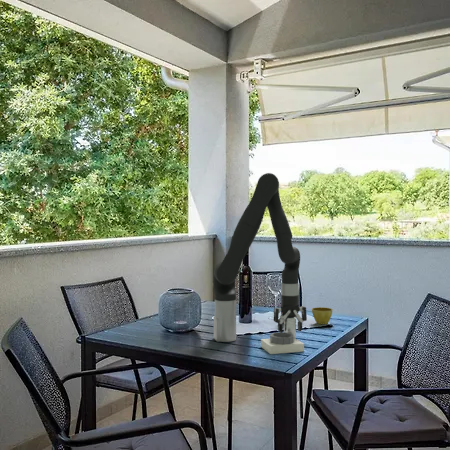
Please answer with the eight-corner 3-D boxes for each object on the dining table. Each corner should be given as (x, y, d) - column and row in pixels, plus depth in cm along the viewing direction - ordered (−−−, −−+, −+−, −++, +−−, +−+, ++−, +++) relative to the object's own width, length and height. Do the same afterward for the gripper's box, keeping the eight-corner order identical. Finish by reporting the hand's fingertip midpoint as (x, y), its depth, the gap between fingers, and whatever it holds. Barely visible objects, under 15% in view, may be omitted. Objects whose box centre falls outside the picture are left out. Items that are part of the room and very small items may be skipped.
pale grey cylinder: (286, 342, 198) (286, 318, 198) (282, 339, 203) (282, 315, 203) (297, 341, 199) (297, 317, 199) (293, 338, 204) (293, 315, 204)
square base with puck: (270, 354, 181) (270, 339, 181) (260, 346, 192) (260, 333, 192) (304, 351, 185) (304, 337, 185) (292, 344, 195) (292, 330, 195)
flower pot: (310, 321, 238) (310, 307, 238) (330, 321, 238) (330, 307, 238) (313, 325, 228) (313, 311, 228) (334, 325, 228) (334, 311, 228)
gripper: (277, 295, 195) (277, 334, 196) (309, 294, 199) (309, 332, 199) (271, 293, 203) (271, 330, 203) (301, 291, 206) (301, 328, 207)
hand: (290, 331), depth 201 cm, fingers open, 8 cm apart
